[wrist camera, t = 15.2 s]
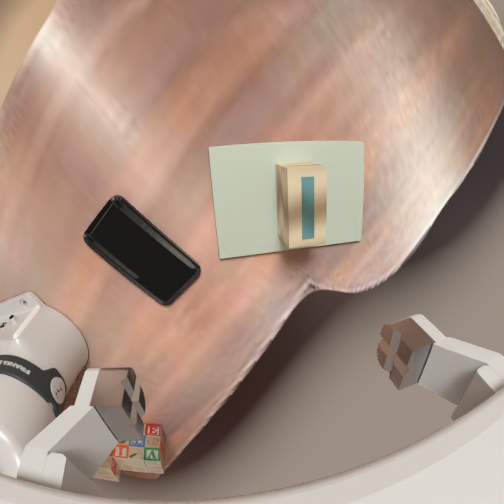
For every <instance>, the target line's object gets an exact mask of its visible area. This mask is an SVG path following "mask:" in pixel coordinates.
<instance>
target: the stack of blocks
mask: <svg viewBox="0 0 504 504" xmlns="http://www.w3.org/2000/svg"><path fill="white" fill-rule="evenodd" d="M120 470H127V471H135V472H146V473H161V474H164V436H163V431H162V426H161V425H157V424H145V423H144V432H143V441H118V444H117V445H116V446H115V448H114V449H113V450H112V452H111V453H110V455H109V456H108V457H107V459H106V460H105V461H104V463H103V464H102V466H101V467H100V468H99V470H98V471H97V472H96V474H95V475H94V477H93V478H98V479H105V480H110V481H117V482H119V479H120Z"/></svg>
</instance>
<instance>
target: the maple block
mask: <svg viewBox="0 0 504 504" xmlns="http://www.w3.org/2000/svg"><path fill="white" fill-rule="evenodd" d="M275 171H276V193H277V219H278V235H279V236H280V237H281V238H282V240H283V241H284V242H285V244H286V245H287V246H288V247H289V248H296V247H304V246H312V245H320V244H326V219H327V167H326V166H323V165H319V164H316V163H313V162H295V163H277V164H275Z"/></svg>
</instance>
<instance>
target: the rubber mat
mask: <svg viewBox="0 0 504 504" xmlns="http://www.w3.org/2000/svg"><path fill="white" fill-rule="evenodd" d="M208 148H209V159H210V170H211V181H212V191H213V201H214V211H215V221H216V230H217V239H218V248H219V257H220V259H223V258H231V257H238V256H246V255H254V254H262V253H269V252H277V251H285V250H292V249H300V248H308V247H315V246H323V245H330V244H338V243H346V242H353V241H361V233H362V216H363V192H364V142H363V141H292V142H269V143H253V144H239V145H228V146H217V147H208ZM295 162H313V163H316V164H319V165H323V166H326V167H327V219H326V244H320V245H312V246H304V247H296V248H289V247H288V246H287V245H286V244H285V242H284V241H283V240H282V238H281V237H280V236H279V235H278V219H277V193H276V171H275V164H277V163H295Z"/></svg>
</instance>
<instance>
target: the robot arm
mask: <svg viewBox="0 0 504 504" xmlns="http://www.w3.org/2000/svg"><path fill="white" fill-rule="evenodd" d="M25 301H26V302H25ZM381 335H382V337H383V339H382V340H381V342H380V343H379V344H378V348H377V357H378V361H379V363H380V365H381V367H382V368H383V369H384V370H387V371H389V372H390V376H389V378H390V379H391V381H392V382H393V383H394V385H395V386H396V387H397V389H398V390H400V389H403V388H405V387H408V386H411V385H413V384H416V383H418V384H419V385H421V386H422V387H424V388H426V389H428V390H430V391H432V392H433V393H435V394H437V395H439V396H441V397H443V398H445V399H446V400H448V401H450V402H452V403H454V404H456V405H457V407H456V409H455V410H454V412H453V414H452V416H451V418H452V420H453V422H451V423H449V424H448V425H446V426H444V427H442V428H441V429H439V430H437V431H435V432H433V433H431V434H430V435H428V436H426V437H424V438H422V439H420V440H418V441H416V442H414V443H412V444H410V445H408V446H406V447H403V448H401V449H399V450H397V451H395V452H393V453H390V454H388V455H386V456H383V457H381V458H379V459H376V460H373V461H371V462H368V463H366V464H363V465H361V466H358V467H355V468H352V469H349V470H346V471H343V472H340V473H337V474H334V475H331V476H327V477H324V478H321V479H317V480H313V481H310V482H306V483H302V484H298V485H294V486H289V487H285V488H280V489H275V490H270V491H265V492H259V493H253V494H248V495H240V496H232V497H224V498H213V499H200V500H180V501H179V500H178V501H177V500H176V501H154V500H131V499H118V498H108V497H104V492H103V491H102V490H101V489H100V488H99V487H98V486H97V485H95V484H94V483H93V482H92V481H91V479H92V478H93V477H94V475H95V474H96V472H97V471H98V470H99V468H100V467H101V466H102V464H103V463H104V461H105V460H106V459H107V457H108V456H109V455H110V453H111V452H112V450H113V449H114V448H115V446H116V445H117V444H118V441H143V432H144V423H143V421H142V419H141V417H142V416H143V415H144V414H145V397H144V393H143V390H142V388H141V386H140V385H139V384H137V383H136V382H135V381H136V374H135V372H134V370H133V369H132V368H130V367H128V368H88V369H87V370H86V371H85V373H84V376H83V379H82V382H81V385H80V389H79V392H78V395H77V398H76V401H75V405H74V406H69V407H68V408H67V409H66V410H65V411H64V412H63V413H62V411H63V408H64V404H65V399H66V395H67V393H68V391H69V389H70V387H71V385H73V384H74V382H75V380H76V377H77V375H78V374H79V372H80V371H81V370H82V369H83V367H84V366H85V365H86V363H87V360H88V348H87V345H86V342H85V340H84V338H83V336H82V334H81V333H80V331H79V330H78V329H77V327H76V326H75V325H74V324H73V323H72V322H71V321H70V320H69V319H68V318H66V317H65V316H64V315H62V314H61V313H59V312H58V311H56V310H54V309H52V308H50V307H48V306H47V305H45V304H44V303H43V302H42V301H41V300H40V299H39V298H38V297H37V296H36V295H35V294H33V293H32V292H26V293H23V294H21V295H18V296H16V297H13V298H11V299H8V300H6V301H3V302H1V303H0V504H504V357H503V356H502V355H501V354H500V353H497V352H493V351H490V350H487V349H484V348H481V347H478V346H475V345H472V344H469V343H466V342H463V341H460V340H457V339H454V338H451V337H448V338H446V337H445V336H444V335H443V334H442V333H441V332H440V331H439V330H438V329H437V328H436V327H435V326H434V325H433V324H432V323H430V322H429V321H428V320H427V319H426V318H425V317H424V316H423V315H421V314H416V315H413V316H410V317H408V318H405V319H401V320H398V321H395V322H392V323H388V324H385V325H384V326H383V328H382V330H381Z"/></svg>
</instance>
